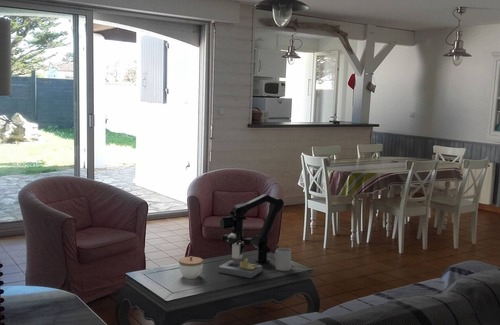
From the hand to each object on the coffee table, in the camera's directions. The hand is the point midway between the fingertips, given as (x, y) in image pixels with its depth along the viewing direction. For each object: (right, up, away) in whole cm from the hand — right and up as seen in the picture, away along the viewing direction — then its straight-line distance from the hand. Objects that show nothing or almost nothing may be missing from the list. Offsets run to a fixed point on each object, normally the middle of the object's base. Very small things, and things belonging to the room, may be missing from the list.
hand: (237, 254), depth 298 cm
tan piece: (+7, -5, -14) cm, 16 cm away
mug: (+25, -8, -2) cm, 26 cm away
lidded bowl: (-24, -8, -22) cm, 34 cm away
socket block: (+2, -8, -11) cm, 14 cm away
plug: (0, -2, 0) cm, 2 cm away
